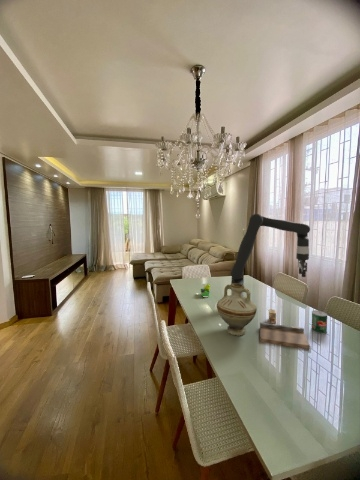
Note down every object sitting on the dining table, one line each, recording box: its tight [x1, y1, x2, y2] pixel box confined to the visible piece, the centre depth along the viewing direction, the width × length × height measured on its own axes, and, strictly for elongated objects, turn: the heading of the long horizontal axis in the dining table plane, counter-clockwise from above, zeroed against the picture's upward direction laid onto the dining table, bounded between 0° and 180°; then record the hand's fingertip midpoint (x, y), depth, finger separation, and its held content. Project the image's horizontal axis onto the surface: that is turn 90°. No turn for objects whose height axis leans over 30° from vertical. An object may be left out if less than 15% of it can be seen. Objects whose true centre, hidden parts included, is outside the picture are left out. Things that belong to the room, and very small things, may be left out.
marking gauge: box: [268, 308, 277, 325], centre depth 139 cm, size 4×12×7 cm, turn 160°
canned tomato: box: [311, 310, 328, 335], centre depth 128 cm, size 8×8×11 cm
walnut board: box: [259, 322, 311, 350], centre depth 122 cm, size 24×16×4 cm, turn 70°
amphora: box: [216, 283, 258, 337], centre depth 129 cm, size 24×24×30 cm
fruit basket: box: [200, 283, 211, 297], centre depth 193 cm, size 11×9×11 cm
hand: (302, 275), depth 148 cm, fingers open, 8 cm apart
